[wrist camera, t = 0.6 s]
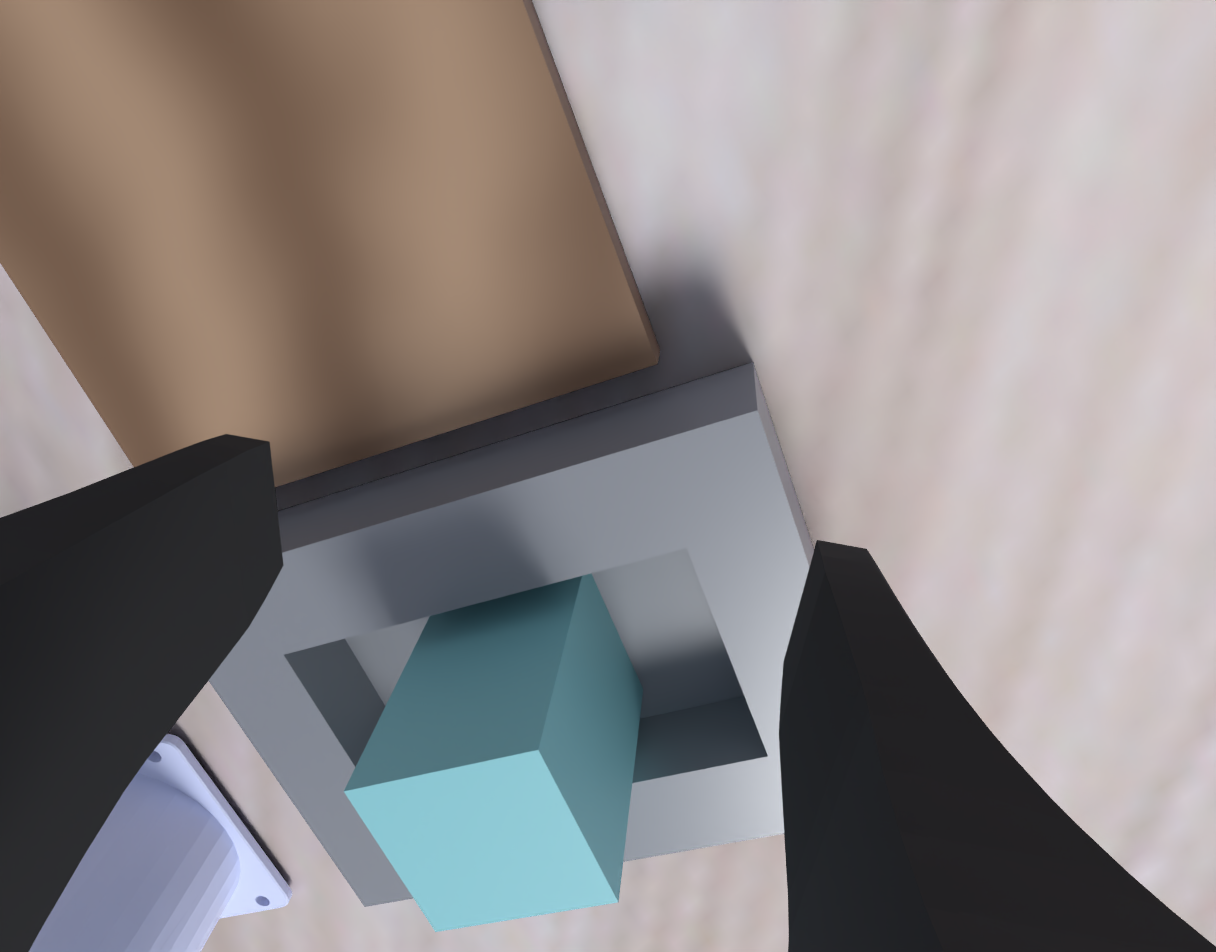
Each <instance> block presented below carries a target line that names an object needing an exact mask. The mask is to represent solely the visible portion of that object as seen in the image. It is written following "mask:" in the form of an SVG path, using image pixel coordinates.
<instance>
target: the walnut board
mask: <svg viewBox="0 0 1216 952" xmlns="http://www.w3.org/2000/svg"><path fill="white" fill-rule="evenodd" d="M0 263H1V265H2V266H3V268H4V269H5V271H6V272H7V274H8V275H9V277H10V278H11V280H12V281H13V283H14V285H15V286H16V288H17V289H18V291H19V292H20V294H21V295H22V297H23V298H24V300H25V301H26V303H27V304H28V306H29V307H30V309H31V311H32V312H33V314H34V315H35V317H36V318H37V320H38V321H39V323H40V324H41V326H42V327H43V329H44V330H45V332H46V333H47V335H48V336H49V338H50V340H51V341H52V343H53V344H54V346H55V347H56V349H57V350H58V352H59V353H60V355H61V356H62V358H63V359H64V361H65V362H66V364H67V366H68V367H69V369H70V370H71V372H72V373H73V375H74V376H75V378H76V379H77V381H78V382H79V384H80V385H81V387H82V388H83V390H84V392H85V393H86V395H87V396H88V398H89V399H90V401H91V402H92V404H93V405H94V407H95V408H96V410H97V411H98V413H99V414H100V416H101V418H102V419H103V421H104V422H105V424H106V425H107V427H108V428H109V430H110V431H111V433H112V434H113V436H114V437H115V439H116V440H117V442H118V444H119V445H120V447H121V448H122V450H123V451H124V453H125V454H126V456H127V457H128V459H129V460H130V462H131V463H132V465H133V466H134V467H136V466H139V465H141V464H144V463H146V462H149V461H151V460H154V459H157V458H159V457H162V456H164V455H167V454H169V453H172V452H174V451H177V450H180V449H182V448H185V447H188V446H190V445H193V444H196V443H199V442H201V441H204V440H207V439H210V438H214V437H217V436H221V435H224V434H230V435H236V436H241V437H247V438H252V439H258V440H263V441H269V442H270V449H271V458H272V467H273V476H274V485H275V487H278V486H281V485H284V484H287V483H291V482H294V481H297V480H300V479H303V478H306V477H309V476H312V475H315V474H318V473H322V472H325V471H328V470H331V469H334V468H337V467H340V466H343V465H346V464H349V463H352V462H356V461H359V460H362V459H365V458H368V457H371V456H374V455H377V454H380V453H383V452H387V451H390V450H393V449H396V448H399V447H402V446H405V445H408V444H411V443H414V442H418V441H421V440H424V439H427V438H430V437H433V436H436V435H439V434H442V433H445V432H449V431H452V430H455V429H458V428H461V427H464V426H467V425H470V424H473V423H476V422H480V421H483V420H486V419H489V418H492V417H495V416H498V415H501V414H504V413H507V412H511V411H514V410H517V409H520V408H523V407H526V406H529V405H532V404H535V403H538V402H542V401H545V400H548V399H551V398H554V397H557V396H560V395H563V394H566V393H569V392H573V391H576V390H579V389H582V388H585V387H588V386H591V385H594V384H597V383H600V382H604V381H607V380H610V379H613V378H616V377H619V376H622V375H625V374H628V373H631V372H635V371H638V370H641V369H644V368H647V367H650V366H653V365H656V364H658V359H659V354H660V348H659V345H658V343H657V340H656V337H655V334H654V332H653V329H652V326H651V324H650V321H649V318H648V315H647V313H646V310H645V307H644V304H643V302H642V299H641V296H640V294H639V291H638V288H637V285H636V283H635V280H634V277H633V275H632V272H631V269H630V266H629V264H628V261H627V258H626V256H625V253H624V250H623V247H622V245H621V242H620V239H619V237H618V234H617V231H616V228H615V226H614V223H613V220H612V217H611V215H610V212H609V209H608V207H607V204H606V201H605V198H604V196H603V193H602V190H601V188H600V185H599V182H598V179H597V177H596V174H595V171H594V169H593V166H592V163H591V160H590V158H589V155H588V152H587V150H586V147H585V144H584V141H583V139H582V136H581V133H580V130H579V128H578V125H577V122H576V120H575V117H574V114H573V111H572V109H571V106H570V103H569V101H568V98H567V95H566V92H565V90H564V87H563V84H562V82H561V79H560V76H559V73H558V71H557V68H556V65H555V63H554V60H553V57H552V54H551V52H550V49H549V46H548V43H547V41H546V38H545V35H544V33H543V30H542V27H541V24H540V22H539V19H538V16H537V14H536V11H535V8H534V5H533V3H532V0H0Z"/></svg>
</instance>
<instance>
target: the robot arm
mask: <svg viewBox="0 0 1216 952" xmlns="http://www.w3.org/2000/svg"><path fill="white" fill-rule="evenodd" d="M283 566H284V565H283V556H282V547H281V538H280V529H279V521H278V512H277V503H276V494H275V485H274V476H273V467H272V458H271V449H270V442H269V441H263V440H258V439H252V438H247V437H241V436H236V435H230V434H224V435H221V436H217V437H214V438H210V439H207V440H204V441H201V442H199V443H196V444H193V445H190V446H188V447H185V448H182V449H180V450H177V451H174V452H172V453H169V454H167V455H164V456H162V457H159V458H157V459H154V460H151V461H149V462H146V463H144V464H141V465H139V466H136V467H134V468H131V469H129V470H126V471H124V472H121V473H119V474H116V475H114V476H111V477H109V478H106V479H104V480H101V481H99V482H96V483H94V484H91V485H89V486H86V487H84V488H81V489H78V490H76V491H73V492H71V493H68V494H65V495H63V496H60V497H57V498H54V499H52V500H49V501H46V502H43V503H41V504H38V505H35V506H32V507H29V508H27V509H24V510H21V511H18V512H16V513H13V514H10V515H7V516H5V517H2V518H0V952H201V950H202V949H203V947H204V945H205V943H206V941H207V940H208V938H209V936H210V934H211V932H212V931H213V929H214V927H215V925H216V924H217V922H218V920H219V918H225V917H230V916H236V915H241V914H247V913H253V912H258V911H264V910H269V909H275V908H281V907H284V906H286V905H287V904H288V902H289V900H290V898H291V896H292V891H291V888H290V887H289V885H288V884H287V883H286V881H285V880H284V879H283V877H282V876H281V874H280V873H279V872H278V870H277V869H276V868H275V866H274V865H273V863H272V862H271V861H270V859H269V858H268V857H267V855H266V854H265V853H264V851H263V850H262V848H261V847H260V846H259V844H258V843H257V842H256V840H255V839H254V837H253V836H252V835H251V833H250V832H249V831H248V829H247V828H246V826H245V825H244V824H243V822H242V821H241V820H240V818H239V817H238V816H237V814H236V813H235V811H234V810H233V809H232V807H231V806H230V805H229V803H228V802H227V800H226V799H225V798H224V796H223V795H222V794H221V792H220V791H219V790H218V788H217V787H216V785H215V784H214V783H213V781H212V780H211V779H210V777H209V776H208V774H207V773H206V772H205V770H204V769H203V768H202V766H201V765H200V763H199V762H198V761H197V759H196V758H195V757H194V755H193V754H192V753H191V751H190V750H189V748H188V747H187V746H186V744H185V743H184V742H183V741H182V740H181V739H180V738H179V737H177V736H175V735H172V734H167V733H168V732H169V730H170V729H171V728H172V726H173V725H174V724H175V723H176V721H177V720H178V719H179V717H180V716H181V715H182V714H183V712H184V711H185V710H186V708H187V707H188V706H189V705H190V703H191V702H192V701H193V699H194V698H195V697H196V696H197V694H198V693H199V692H200V691H201V689H202V688H203V687H204V685H205V684H206V683H207V682H208V680H209V679H210V678H211V676H212V675H213V674H214V673H215V671H216V670H217V669H218V667H219V666H220V665H221V663H222V662H223V661H224V659H225V658H226V657H227V656H228V654H229V653H230V652H231V650H232V649H233V648H234V646H235V645H236V644H237V642H238V641H239V640H240V638H241V637H242V636H243V634H244V633H245V632H246V630H247V629H248V628H249V626H250V624H251V623H252V621H253V619H254V618H255V616H256V614H257V613H258V611H259V609H260V607H261V606H262V604H263V602H264V601H265V599H266V597H267V595H268V593H269V592H270V590H271V588H272V586H273V584H274V582H275V580H276V579H277V577H278V575H279V573H280V571H281V569H282V567H283ZM779 748H780V767H781V785H782V802H783V819H784V835H785V852H786V868H787V885H788V912H789V947H788V952H1216V947H1215V946H1214V945H1213V944H1212V943H1210V942H1209V941H1208V940H1207V939H1206V938H1204V937H1203V936H1202V935H1201V934H1199V933H1198V932H1197V931H1196V930H1195V929H1193V928H1192V927H1191V926H1190V925H1188V924H1187V923H1186V922H1185V921H1184V920H1182V919H1181V918H1180V917H1179V916H1178V915H1176V914H1175V913H1174V912H1173V911H1171V910H1170V909H1169V908H1168V907H1167V906H1166V905H1164V904H1163V903H1162V902H1161V901H1160V900H1159V899H1158V898H1156V897H1155V896H1154V895H1153V894H1152V893H1151V892H1150V891H1148V890H1147V889H1146V888H1145V887H1144V886H1143V885H1142V884H1140V883H1139V882H1138V881H1137V880H1136V879H1135V878H1134V877H1132V876H1131V875H1130V874H1129V873H1128V872H1127V871H1126V870H1125V869H1124V868H1123V867H1122V866H1120V865H1119V864H1118V863H1117V862H1116V861H1115V860H1114V859H1113V858H1112V857H1111V856H1110V855H1109V854H1108V853H1107V852H1106V851H1105V850H1103V849H1102V848H1101V847H1100V846H1099V845H1098V844H1097V843H1096V842H1095V841H1094V840H1093V839H1092V838H1091V837H1090V836H1089V835H1088V834H1086V833H1085V832H1084V831H1083V830H1082V829H1081V828H1080V827H1079V826H1078V825H1077V824H1076V823H1075V822H1074V821H1073V820H1072V819H1071V818H1070V817H1069V816H1068V815H1067V814H1066V813H1065V812H1064V811H1063V810H1062V809H1061V808H1060V807H1059V806H1058V805H1057V804H1056V803H1055V802H1054V801H1053V800H1052V799H1051V798H1050V797H1049V796H1048V795H1047V794H1046V792H1045V791H1044V790H1043V789H1042V788H1041V787H1040V786H1039V785H1038V784H1037V783H1036V782H1035V780H1034V779H1033V778H1032V777H1031V776H1030V775H1029V774H1028V773H1027V772H1026V771H1025V770H1024V768H1023V767H1022V766H1021V765H1020V764H1019V763H1018V762H1017V761H1016V760H1015V759H1014V758H1013V756H1012V755H1011V754H1010V753H1009V752H1008V751H1007V750H1006V749H1005V747H1004V746H1003V745H1002V744H1001V743H1000V741H999V740H998V739H997V738H996V737H995V736H994V734H993V733H992V732H991V731H990V730H989V728H988V727H987V726H986V725H985V723H984V722H983V721H982V720H981V718H980V717H979V716H978V714H977V713H976V712H975V711H974V709H973V708H972V707H971V706H970V704H969V703H968V702H967V700H966V699H965V698H964V697H963V695H962V694H961V693H960V691H959V690H958V689H957V687H956V686H955V685H954V683H953V682H952V680H951V679H950V678H949V676H948V675H947V673H946V672H945V671H944V669H943V668H942V666H941V665H940V663H939V662H938V660H937V659H936V657H935V656H934V654H933V653H932V652H931V650H930V649H929V647H928V646H927V644H926V643H925V641H924V640H923V638H922V637H921V635H920V634H919V632H918V631H917V629H916V628H915V626H914V625H913V623H912V621H911V620H910V618H909V617H908V615H907V614H906V612H905V610H904V609H903V607H902V606H901V604H900V602H899V601H898V599H897V597H896V596H895V594H894V593H893V591H892V589H891V588H890V586H889V584H888V583H887V581H886V579H885V578H884V576H883V574H882V573H881V571H880V569H879V568H878V566H877V564H876V563H875V561H874V560H873V558H872V556H871V555H870V553H869V552H868V551H867V549H864V548H858V547H853V546H847V545H842V544H836V543H830V542H825V541H819V540H817V542H816V546H815V549H814V553H813V556H812V560H811V564H810V567H809V571H808V575H807V578H806V582H805V586H804V589H803V593H802V596H801V600H800V604H799V607H798V611H797V615H796V618H795V622H794V625H793V629H792V633H791V636H790V640H789V644H788V647H787V651H786V655H785V658H784V662H783V675H782V689H781V703H780V720H779Z"/></svg>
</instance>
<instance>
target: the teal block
mask: <svg viewBox="0 0 1216 952" xmlns="http://www.w3.org/2000/svg"><path fill="white" fill-rule="evenodd" d="M642 696H643V687H642V685H641V683H640V681H639V678H638V676H637V674H636V672H635V670H634V667H633V665H632V663H631V661H630V658H629V656H628V654H627V652H626V649H625V647H624V645H623V643H622V641H621V638H620V636H619V634H618V632H617V629H616V627H615V625H614V623H613V620H612V618H611V616H610V614H609V612H608V609H607V607H606V605H605V603H604V600H603V598H602V596H601V594H600V591H599V589H598V587H597V585H596V583H595V580H594V578H593V576H592V574H587V575H583V576H579V577H576V578H572V579H568V580H564V581H560V582H557V583H553V584H549V585H545V586H542V587H538V588H534V589H530V590H526V591H523V592H519V593H515V594H511V595H508V596H504V597H500V598H496V599H492V600H489V601H485V602H481V603H477V604H474V605H470V606H466V607H462V608H459V609H455V610H451V611H447V612H443V613H440V614H436V615H432V616H430V617H429V619H428V621H427V623H426V625H425V627H424V629H423V631H422V633H421V635H420V637H419V639H418V641H417V643H416V645H415V647H414V649H413V651H412V653H411V655H410V657H409V659H408V661H407V663H406V666H405V668H404V670H403V672H402V674H401V676H400V678H399V680H398V682H397V684H396V686H395V688H394V690H393V692H392V694H391V696H390V698H389V700H388V702H387V704H386V706H385V708H384V710H383V712H382V714H381V716H380V718H379V720H378V723H377V725H376V727H375V729H374V731H373V733H372V735H371V737H370V739H369V741H368V743H367V745H366V747H365V749H364V751H363V753H362V755H361V757H360V759H359V761H358V763H357V765H356V767H355V769H354V771H353V773H352V775H351V777H350V780H349V782H348V784H347V786H346V788H345V790H344V793H345V794H346V796H347V797H348V799H349V800H350V802H351V803H352V805H353V806H354V808H355V810H356V811H357V813H358V814H359V816H360V817H361V819H362V820H363V822H364V823H365V825H366V826H367V828H368V829H369V831H370V832H371V834H372V835H373V837H374V839H375V840H376V842H377V843H378V845H379V846H380V848H381V849H382V851H383V852H384V854H385V855H386V857H387V858H388V860H389V861H390V863H391V864H392V866H393V868H394V869H395V871H396V872H397V874H398V875H399V877H400V878H401V880H402V881H403V883H404V884H405V886H406V887H407V889H408V890H409V892H410V893H411V895H412V897H413V898H414V900H415V901H416V903H417V904H418V906H419V907H420V909H421V910H422V912H423V913H424V915H425V916H426V918H427V919H428V921H429V922H430V924H431V925H432V927H433V929H434V930H435V932H438V931H444V930H451V929H457V928H463V927H469V926H475V925H481V924H488V923H494V922H500V921H506V920H512V919H518V918H525V917H531V916H537V915H543V914H549V913H555V912H562V911H568V910H574V909H580V908H586V907H592V906H599V905H605V904H611V903H617V902H618V901H619V893H620V884H621V875H622V867H623V858H624V850H625V841H626V833H627V824H628V816H629V807H630V799H631V790H632V781H633V773H634V764H635V756H636V747H637V739H638V730H639V722H640V713H641V705H642Z"/></svg>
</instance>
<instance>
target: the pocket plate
mask: <svg viewBox="0 0 1216 952" xmlns="http://www.w3.org/2000/svg"><path fill="white" fill-rule="evenodd" d="M278 521H279V529H280V538H281V547H282V556H283V565H284V566H283V567H282V569H281V571H280V573H279V575H278V577H277V579H276V580H275V582H274V584H273V586H272V588H271V590H270V592H269V593H268V595H267V597H266V599H265V601H264V602H263V604H262V606H261V607H260V609H259V611H258V613H257V614H256V616H255V618H254V619H253V621H252V623H251V624H250V626H249V628H248V629H247V630H246V632H245V633H244V634H243V636H242V637H241V638H240V640H239V641H238V642H237V644H236V645H235V646H234V648H233V649H232V650H231V652H230V653H229V654H228V656H227V657H226V658H225V659H224V661H223V662H222V663H221V665H220V666H219V667H218V669H217V670H216V671H215V673H214V674H213V675H212V676H211V678H210V679H209V682H210V683H211V685H212V686H213V688H214V689H215V691H216V692H217V694H218V695H219V696H220V698H221V699H222V701H223V702H224V704H225V705H226V707H227V708H228V709H229V711H230V712H231V714H232V715H233V717H234V718H235V720H236V721H237V722H238V724H239V725H240V727H241V728H242V730H243V731H244V733H245V734H246V736H247V737H248V738H249V740H250V741H251V743H252V744H253V746H254V747H255V749H256V750H257V751H258V753H259V754H260V756H261V757H262V759H263V760H264V762H265V763H266V764H267V766H268V767H269V769H270V770H271V772H272V773H273V775H274V776H275V777H276V779H277V780H278V782H279V783H280V785H281V786H282V788H283V789H284V791H285V792H286V793H287V795H288V796H289V798H290V799H291V801H292V802H293V804H294V805H295V806H296V808H297V809H298V811H299V812H300V814H301V815H302V817H303V818H304V819H305V821H306V822H307V824H308V825H309V827H310V828H311V830H312V831H313V833H314V834H315V835H316V837H317V838H318V840H319V841H320V843H321V844H322V846H323V847H324V848H325V850H326V851H327V853H328V854H329V856H330V857H331V859H332V860H333V861H334V863H335V864H336V866H337V867H338V869H339V870H340V872H341V873H342V875H343V876H344V877H345V879H346V880H347V882H348V883H349V885H350V886H351V888H352V889H353V890H354V892H355V893H356V895H357V896H358V898H359V899H360V901H361V902H362V903H363V905H364V906H365V907H367V906H372V905H378V904H384V903H390V902H395V901H401V900H407V899H412V898H413V897H412V895H411V893H410V892H409V890H408V889H407V887H406V886H405V884H404V883H403V881H402V880H401V878H400V877H399V875H398V874H397V872H396V871H395V869H394V868H393V866H392V864H391V863H390V861H389V860H388V858H387V857H386V855H385V854H384V852H383V851H382V849H381V848H380V846H379V845H378V843H377V842H376V840H375V839H374V837H373V835H372V834H371V832H370V831H369V829H368V828H367V826H366V825H365V823H364V822H363V820H362V819H361V817H360V816H359V814H358V813H357V811H356V810H355V808H354V806H353V805H352V803H351V802H350V800H349V799H348V797H347V796H346V794H345V793H344V790H345V788H346V786H347V784H348V782H349V780H350V777H351V775H352V773H353V771H354V769H355V767H356V765H357V763H358V761H359V759H360V757H361V755H362V753H363V751H364V749H365V747H366V745H367V743H368V741H369V739H370V737H371V735H372V733H373V731H374V729H375V727H376V725H377V723H378V720H379V718H380V716H381V714H382V712H383V710H384V708H385V706H386V704H387V702H388V700H389V698H390V696H391V694H392V692H393V690H394V688H395V686H396V684H397V682H398V680H399V678H400V676H401V674H402V672H403V670H404V668H405V666H406V663H407V661H408V659H409V657H410V655H411V653H412V651H413V649H414V647H415V645H416V643H417V641H418V639H419V637H420V635H421V633H422V631H423V629H424V627H425V625H426V623H427V621H428V619H429V617H430V616H432V615H436V614H440V613H443V612H447V611H451V610H455V609H459V608H462V607H466V606H470V605H474V604H477V603H481V602H485V601H489V600H492V599H496V598H500V597H504V596H508V595H511V594H515V593H519V592H523V591H526V590H530V589H534V588H538V587H542V586H545V585H549V584H553V583H557V582H560V581H564V580H568V579H572V578H576V577H579V576H583V575H587V574H592V576H593V578H594V580H595V583H596V585H597V587H598V589H599V591H600V594H601V596H602V598H603V600H604V603H605V605H606V607H607V609H608V612H609V614H610V616H611V618H612V620H613V623H614V625H615V627H616V629H617V632H618V634H619V636H620V638H621V641H622V643H623V645H624V647H625V649H626V652H627V654H628V656H629V658H630V661H631V663H632V665H633V667H634V670H635V672H636V674H637V676H638V678H639V681H640V683H641V685H642V687H643V696H642V705H641V713H640V722H639V730H638V739H637V747H636V756H635V764H634V773H633V781H632V790H631V799H630V807H629V816H628V824H627V833H626V841H625V850H624V858H623V862H625V861H630V860H636V859H642V858H648V857H653V856H659V855H665V854H671V853H676V852H682V851H688V850H694V849H699V848H705V847H711V846H717V845H722V844H728V843H734V842H740V841H745V840H751V839H757V838H762V837H768V836H774V835H780V834H784V819H783V802H782V785H781V767H780V748H779V720H780V703H781V689H782V675H783V662H784V658H785V655H786V651H787V647H788V644H789V640H790V636H791V633H792V629H793V625H794V622H795V618H796V615H797V611H798V607H799V604H800V600H801V596H802V593H803V589H804V586H805V582H806V578H807V575H808V571H809V567H810V564H811V560H812V556H813V553H814V548H813V545H812V541H811V538H810V535H809V532H808V529H807V526H806V523H805V520H804V517H803V514H802V511H801V508H800V505H799V502H798V498H797V495H796V492H795V489H794V486H793V483H792V480H791V477H790V474H789V471H788V468H787V465H786V462H785V459H784V455H783V452H782V449H781V446H780V443H779V440H778V437H777V434H776V431H775V428H774V425H773V422H772V419H771V416H770V412H769V409H768V406H767V403H766V400H765V397H764V394H763V391H762V388H761V385H760V382H759V379H758V376H757V373H756V369H755V366H754V363H753V362H752V363H749V364H746V365H742V366H739V367H736V368H733V369H730V370H726V371H723V372H720V373H717V374H714V375H711V376H707V377H704V378H701V379H698V380H695V381H691V382H688V383H685V384H682V385H679V386H676V387H672V388H669V389H666V390H663V391H660V392H656V393H653V394H650V395H647V396H644V397H641V398H637V399H634V400H631V401H628V402H625V403H621V404H618V405H615V406H612V407H609V408H606V409H602V410H599V411H596V412H593V413H590V414H586V415H583V416H580V417H577V418H574V419H571V420H567V421H564V422H561V423H558V424H555V425H551V426H548V427H545V428H542V429H539V430H535V431H532V432H529V433H526V434H523V435H520V436H516V437H513V438H510V439H507V440H504V441H500V442H497V443H494V444H491V445H488V446H485V447H481V448H478V449H475V450H472V451H469V452H465V453H462V454H459V455H456V456H453V457H450V458H446V459H443V460H440V461H437V462H434V463H430V464H427V465H424V466H421V467H418V468H415V469H411V470H408V471H405V472H402V473H399V474H395V475H392V476H389V477H386V478H383V479H380V480H376V481H373V482H370V483H367V484H364V485H360V486H357V487H354V488H351V489H348V490H345V491H341V492H338V493H335V494H332V495H329V496H325V497H322V498H319V499H316V500H313V501H310V502H306V503H303V504H300V505H297V506H294V507H290V508H287V509H284V510H281V511H278Z"/></svg>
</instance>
